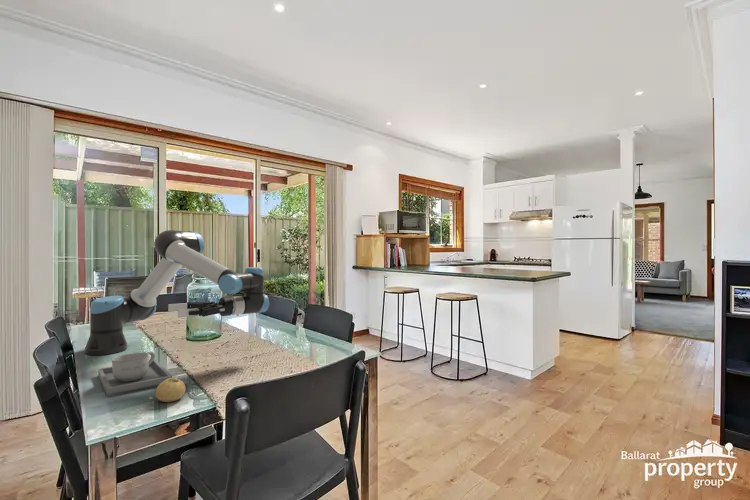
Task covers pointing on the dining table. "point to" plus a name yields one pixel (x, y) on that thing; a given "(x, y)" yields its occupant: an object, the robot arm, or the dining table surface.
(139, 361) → the teacup
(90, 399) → the dining table surface
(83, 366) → the dining table surface
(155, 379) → the tray
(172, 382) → the onion
